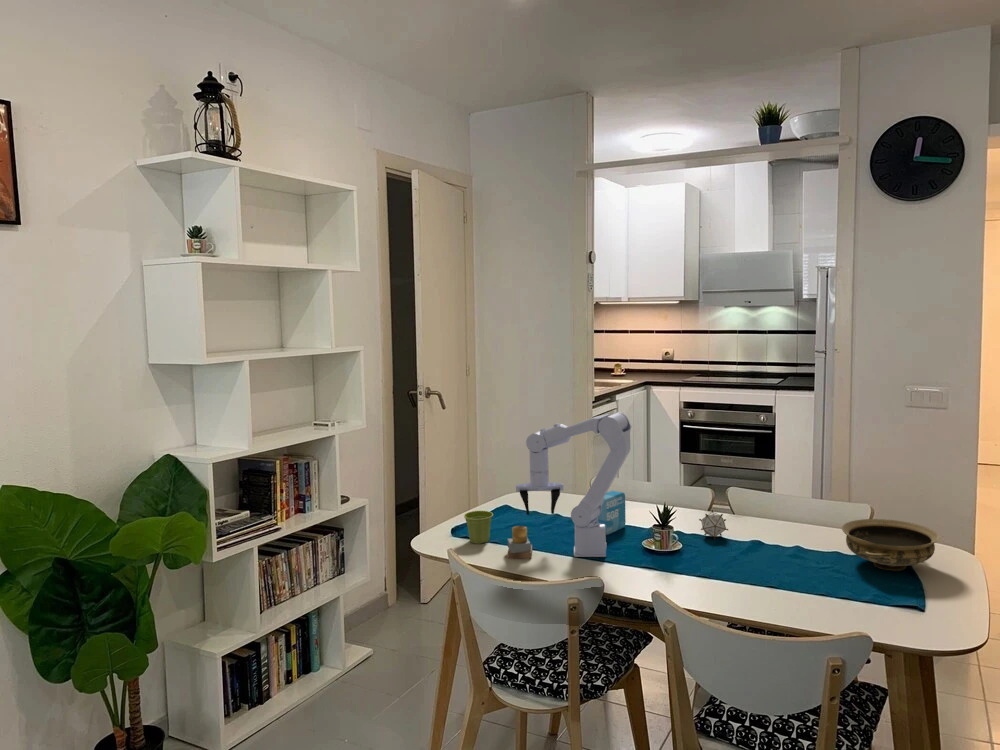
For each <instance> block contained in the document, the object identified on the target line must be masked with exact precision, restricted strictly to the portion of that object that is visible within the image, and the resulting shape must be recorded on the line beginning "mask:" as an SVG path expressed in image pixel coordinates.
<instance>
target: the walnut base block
mask: <svg viewBox="0 0 1000 750" xmlns="http://www.w3.org/2000/svg"><path fill="white" fill-rule="evenodd" d="M532 557H533V544H531V551H530V552H519V553H511V552H510V550H509V548H508V550H507V560H532Z"/></svg>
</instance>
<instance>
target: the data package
mask: <svg viewBox="0 0 1000 750" xmlns="http://www.w3.org/2000/svg"><path fill="white" fill-rule="evenodd" d="M603 501H604V502H603V504H602V506H601V514H600V516H599V517H598V522H599V524H605V533H606V536H608V535H610V534H613V533H614V532H617V531H619V530H621V529H623V528H624V527H625V526H626V494H625V492H622V491H616V490H610V491H607V493H606V495H605V497H604V498H603Z"/></svg>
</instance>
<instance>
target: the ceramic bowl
mask: <svg viewBox="0 0 1000 750" xmlns="http://www.w3.org/2000/svg"><path fill="white" fill-rule="evenodd" d="M841 531H842V532H843V533H844V534H845V535H846V536H845V543H846V546H847V547H848V549H849V550H850V552H852V553H853V554H854V555H856V556H857V557H860V558H862V559H863V560H867V561H869V562H872V563H873V566H874V567H876V568H878V569H881V570H886V571H893V572H894V571H904V570H905V569H906V568H907V566H914V565H918V564H921V563H923V562H926V561H928V560H929V559H930V558H932V556H933V555H934V554H935V552H936V551H935V550H936V549H935V548H936V547H935V546H936V545H935V543H936V542H938V541H939V540H940V534H939V533H938V531H936V530H934V529H933V528H930V527H927V526H925V525H921V524H919V523H918V524H917V523H914V522H907V521H904V520H897V519H886V518H883V519H882V518H880V519H879V518H865V519H854V520H851V521H848V522H845V523H844V524H843V525H841Z"/></svg>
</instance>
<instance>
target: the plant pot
mask: <svg viewBox="0 0 1000 750" xmlns="http://www.w3.org/2000/svg"><path fill="white" fill-rule="evenodd" d="M463 517H464V519H465V522H466V526H467V529H468V530H467V531H468V536H469V541H470V542H471V543H473V544H481V545H482V544H483V543H488V542H489V541H490V534H491V524H492V519H493V517H494V513H493V512H491V511H488V510H474V511H473V510H471V511H468V512H465V513H464V514H463Z"/></svg>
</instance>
